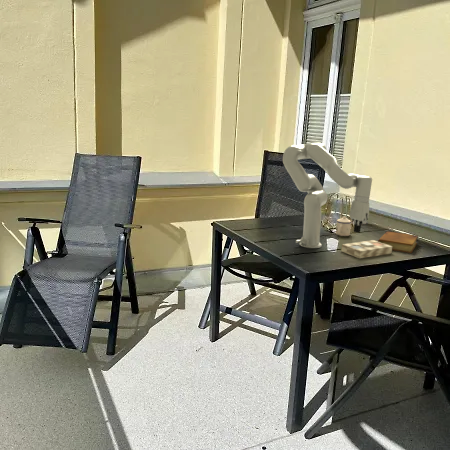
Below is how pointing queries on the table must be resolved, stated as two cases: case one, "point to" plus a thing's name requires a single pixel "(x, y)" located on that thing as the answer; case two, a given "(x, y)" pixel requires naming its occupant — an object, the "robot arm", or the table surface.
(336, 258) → the table surface
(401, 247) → the diary
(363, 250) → the beige flat block
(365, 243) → the key offwhite
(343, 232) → the teacup with lid
